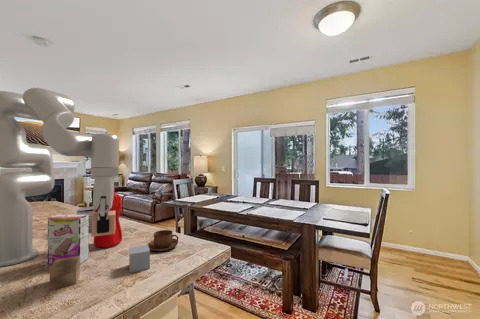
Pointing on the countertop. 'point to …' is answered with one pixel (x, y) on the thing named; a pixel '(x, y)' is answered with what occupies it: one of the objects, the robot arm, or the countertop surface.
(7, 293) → the countertop surface
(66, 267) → the walnut block
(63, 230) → the candy bar box
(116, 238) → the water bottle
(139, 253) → the slate grey block
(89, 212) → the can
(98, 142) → the robot arm
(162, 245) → the cup and saucer
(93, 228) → the terracotta block
